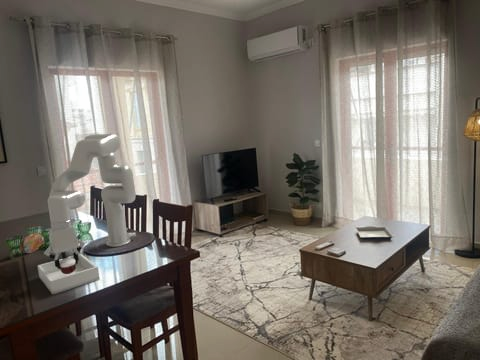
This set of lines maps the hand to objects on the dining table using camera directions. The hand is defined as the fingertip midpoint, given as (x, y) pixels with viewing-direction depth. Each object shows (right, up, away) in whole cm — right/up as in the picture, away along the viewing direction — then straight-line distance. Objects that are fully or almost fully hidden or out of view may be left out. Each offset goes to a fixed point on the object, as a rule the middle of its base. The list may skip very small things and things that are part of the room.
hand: (67, 265), depth 151 cm
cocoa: (0, -3, +1) cm, 3 cm away
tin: (-37, -2, +39) cm, 53 cm away
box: (0, -6, +1) cm, 6 cm away
